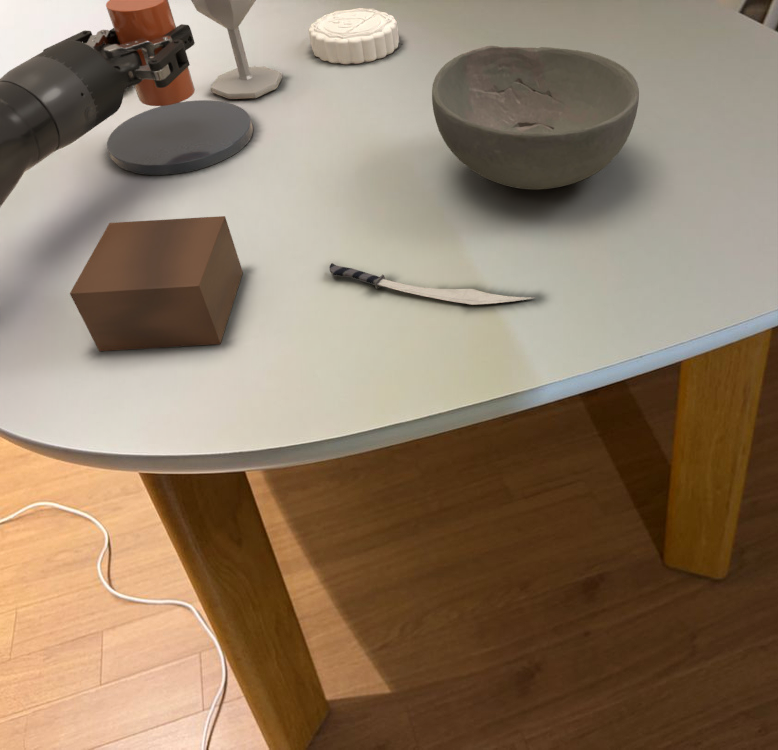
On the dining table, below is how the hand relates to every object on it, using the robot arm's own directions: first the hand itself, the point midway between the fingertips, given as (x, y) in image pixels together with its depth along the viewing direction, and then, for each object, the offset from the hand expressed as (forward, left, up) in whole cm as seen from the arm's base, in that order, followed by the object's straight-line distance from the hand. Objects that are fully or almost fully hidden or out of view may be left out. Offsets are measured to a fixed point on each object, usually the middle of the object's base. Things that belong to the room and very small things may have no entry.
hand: (162, 31), depth 87 cm
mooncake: (+17, +23, -12) cm, 31 cm away
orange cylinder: (-1, -2, -6) cm, 6 cm away
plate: (-1, -2, -12) cm, 12 cm away
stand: (+6, -34, -12) cm, 37 cm away
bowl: (+39, -14, -12) cm, 43 cm away
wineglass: (+4, +12, -12) cm, 17 cm away
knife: (+28, -33, -12) cm, 45 cm away
